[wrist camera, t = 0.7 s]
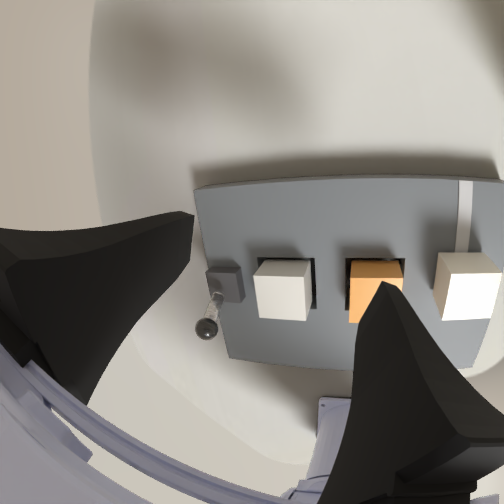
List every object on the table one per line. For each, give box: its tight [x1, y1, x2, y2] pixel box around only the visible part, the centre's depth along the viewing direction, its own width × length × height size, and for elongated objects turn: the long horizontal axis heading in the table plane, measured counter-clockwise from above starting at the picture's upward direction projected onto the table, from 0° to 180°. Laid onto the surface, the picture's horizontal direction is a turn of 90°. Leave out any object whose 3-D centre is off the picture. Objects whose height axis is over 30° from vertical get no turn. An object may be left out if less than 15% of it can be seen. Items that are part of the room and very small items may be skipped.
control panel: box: [194, 174, 504, 371], centre depth 18 cm, size 15×22×3 cm
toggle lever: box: [195, 290, 225, 340], centre depth 19 cm, size 2×2×4 cm
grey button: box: [253, 260, 312, 321], centre depth 19 cm, size 3×3×2 cm
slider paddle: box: [432, 252, 502, 320], centre depth 13 cm, size 3×4×3 cm
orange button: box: [349, 260, 403, 323], centre depth 17 cm, size 3×3×2 cm
